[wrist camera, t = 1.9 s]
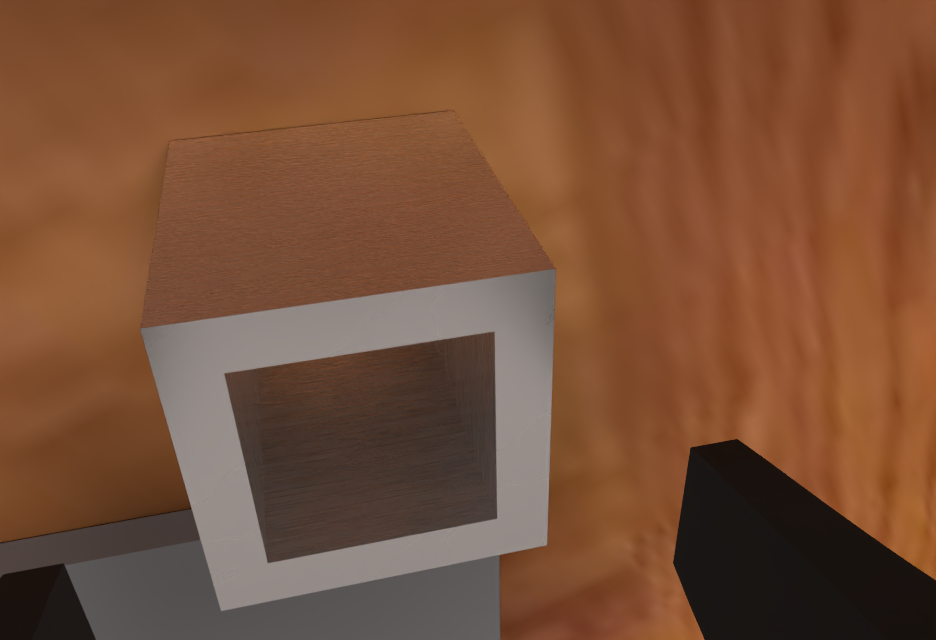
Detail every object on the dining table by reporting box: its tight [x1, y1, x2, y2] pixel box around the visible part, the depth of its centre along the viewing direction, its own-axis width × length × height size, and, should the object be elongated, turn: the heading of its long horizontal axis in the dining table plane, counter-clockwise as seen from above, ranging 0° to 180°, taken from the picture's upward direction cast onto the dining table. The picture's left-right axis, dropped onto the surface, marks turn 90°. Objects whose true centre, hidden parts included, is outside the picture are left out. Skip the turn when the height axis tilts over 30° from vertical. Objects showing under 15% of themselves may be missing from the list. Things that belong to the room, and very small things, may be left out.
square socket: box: [140, 111, 556, 611], centre depth 14 cm, size 5×5×6 cm
